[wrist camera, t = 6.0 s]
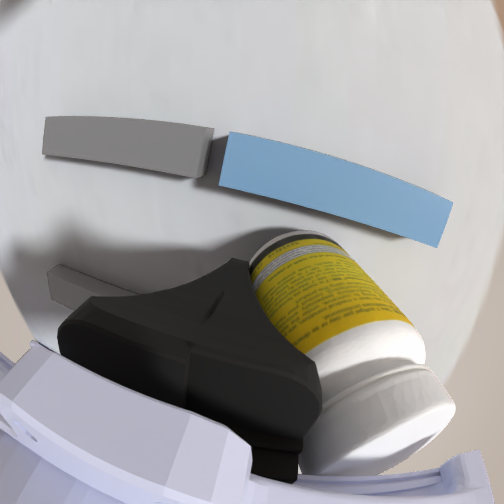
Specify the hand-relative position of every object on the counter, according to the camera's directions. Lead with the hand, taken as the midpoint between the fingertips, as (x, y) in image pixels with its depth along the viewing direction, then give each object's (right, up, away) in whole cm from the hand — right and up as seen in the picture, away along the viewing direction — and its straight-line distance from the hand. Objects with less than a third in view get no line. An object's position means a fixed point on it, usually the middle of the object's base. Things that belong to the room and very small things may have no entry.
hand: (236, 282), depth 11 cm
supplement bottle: (+2, 0, +1) cm, 3 cm away
